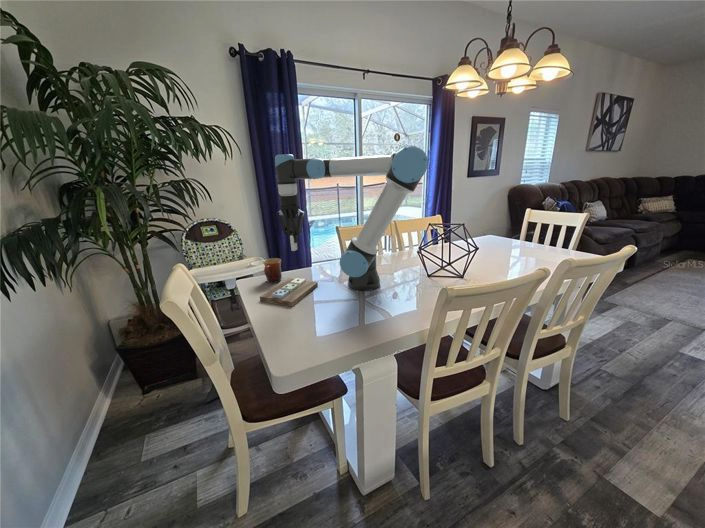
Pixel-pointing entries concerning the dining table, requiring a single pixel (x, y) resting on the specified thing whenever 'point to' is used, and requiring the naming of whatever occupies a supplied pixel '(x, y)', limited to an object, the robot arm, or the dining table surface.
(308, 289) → the board
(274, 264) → the mug
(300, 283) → the tile one
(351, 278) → the robot arm
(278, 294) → the tile three
